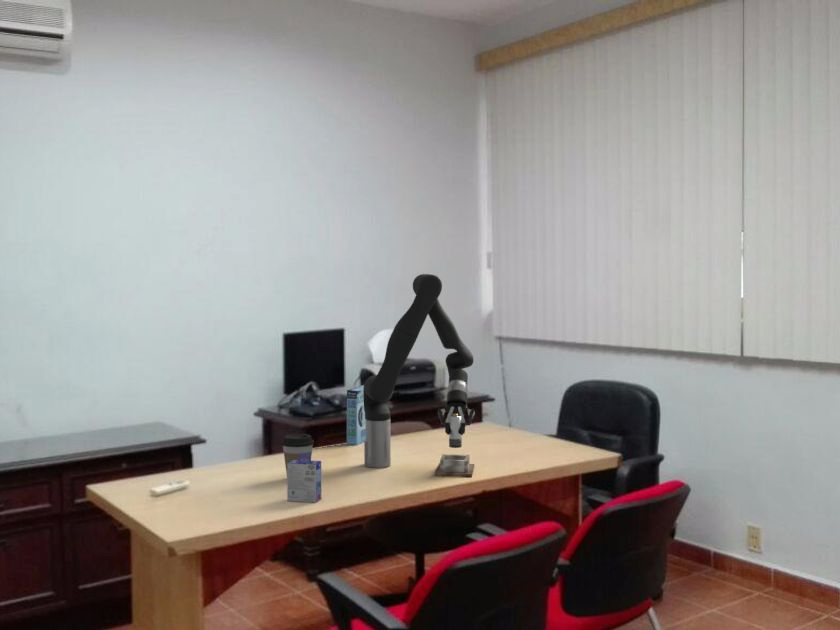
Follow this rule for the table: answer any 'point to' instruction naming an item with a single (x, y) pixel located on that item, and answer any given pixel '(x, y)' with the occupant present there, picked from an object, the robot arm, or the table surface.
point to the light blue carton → (356, 416)
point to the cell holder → (454, 466)
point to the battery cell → (455, 431)
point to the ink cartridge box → (304, 480)
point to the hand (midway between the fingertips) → (454, 433)
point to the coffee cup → (296, 446)
